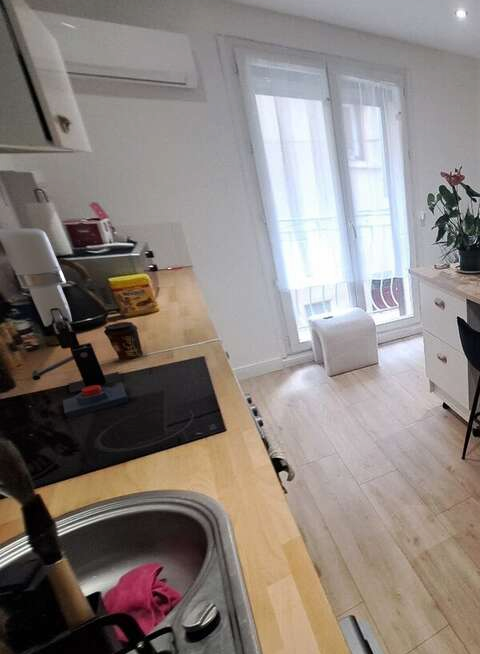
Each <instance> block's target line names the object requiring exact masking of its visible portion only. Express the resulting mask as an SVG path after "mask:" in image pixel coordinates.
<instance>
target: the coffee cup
mask: <svg viewBox="0 0 480 654" xmlns="http://www.w3.org/2000/svg"><path fill="white" fill-rule="evenodd" d="M138 329H139V328H138V326H137V325H135V324H134V323H133V322H131V321H120V322H115V323H111V324H109V325H105V326H104V331H103V333H104V334H105V336H106V337H107V338H108V340H109V343H110V345H111V347H112V348H113V350H114V351H115V353H116V356H117V357H118V360H119V361H123V362H124V361H131V360H135V359H139V358H141V357H143V356H144V352H143V349H142V344H141V339H140V335H139V332H138V331H139V330H138Z"/></svg>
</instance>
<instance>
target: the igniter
mask: <svg viewBox="0 0 480 654" xmlns="http://www.w3.org/2000/svg"><path fill="white" fill-rule="evenodd" d="M100 387H101V390H102V392H101V393H98V394H95V395H91V396H84V395H83V393H82V391H80V392H79V393H78V394H76V395H75V396H74V397H70V398H66V399H62V406H63V413H64V416H65V417H66V419H71V418H75V417H78V416H83V415H86V414H90V413H93V412H97V411H100V410H104V409H109V408H111V407H116V406H119V405H122V404H123V405H124V404H126V403H129V402H130V401H129V398H128V396H127V394H126V392H125V389H124V386H123V385H122V384H121V385H118V386H114V387H110V388H109V387H108V386H107V387H106V386H100Z"/></svg>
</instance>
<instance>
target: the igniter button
mask: <svg viewBox="0 0 480 654" xmlns="http://www.w3.org/2000/svg"><path fill="white" fill-rule="evenodd" d="M101 387H102V386H100V385H93V386H88V387H85V388H83V389H82V390H81V391H80V392H82V393H83V395H84V396H91V395H95V394H98V393H101V392H102V390H101Z"/></svg>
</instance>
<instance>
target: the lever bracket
mask: <svg viewBox="0 0 480 654" xmlns="http://www.w3.org/2000/svg"><path fill="white" fill-rule="evenodd" d="M84 346H86V347H85V348H81V347H84ZM79 348H80V349H79ZM69 349H70V353H71V356H72V355H73V358H74V360H73V361H74V362H75V364H76V367H77V370H78V371H79V374H80V376H81V380H77V381H72V382H69V383H68V389H69V394H75V393H78V392H82V391H81V390H82V389H83V388H85V387H88V386H93V385H100V387H104V386H106V385H110V384H115V383H119V382H122V381H123V379H122V377H121V375H120V373H119V371H115V372H111V373H106V374H104V372H103V369H102V367H101V365H100V362H99V360H98V358H97V355H96V352H95V349H94V348H93V345H92V342H88V343H83V344H79V346H76V347H71V348H69Z"/></svg>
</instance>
